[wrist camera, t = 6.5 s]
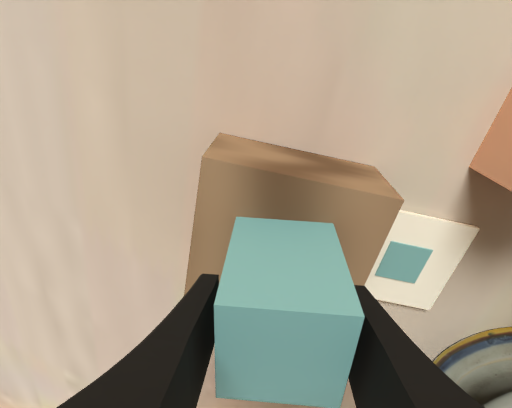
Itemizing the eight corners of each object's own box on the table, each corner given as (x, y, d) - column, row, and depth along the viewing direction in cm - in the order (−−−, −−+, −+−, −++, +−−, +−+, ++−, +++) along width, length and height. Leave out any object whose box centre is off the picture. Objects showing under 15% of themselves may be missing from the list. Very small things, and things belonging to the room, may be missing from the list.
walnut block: (374, 166, 15) (404, 200, 12) (327, 286, 19) (338, 340, 15) (219, 132, 15) (202, 156, 12) (200, 260, 19) (182, 309, 15)
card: (476, 226, 17) (481, 229, 16) (427, 306, 19) (430, 311, 19) (369, 203, 16) (371, 206, 16) (334, 287, 19) (336, 292, 19)
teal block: (333, 223, 13) (364, 316, 8) (319, 297, 14) (339, 408, 10) (236, 216, 13) (214, 304, 8) (234, 291, 14) (215, 397, 10)
